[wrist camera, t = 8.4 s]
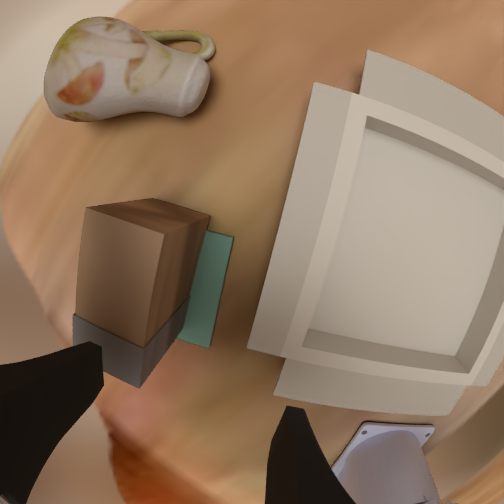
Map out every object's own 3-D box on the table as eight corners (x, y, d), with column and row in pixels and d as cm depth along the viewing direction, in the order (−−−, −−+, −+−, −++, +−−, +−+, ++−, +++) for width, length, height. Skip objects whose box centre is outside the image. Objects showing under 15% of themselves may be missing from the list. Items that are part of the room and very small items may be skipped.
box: (211, 216, 18) (165, 235, 11) (183, 328, 20) (139, 388, 13) (151, 197, 18) (82, 207, 11) (130, 307, 20) (73, 354, 13)
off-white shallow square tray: (454, 395, 19) (467, 415, 16) (242, 360, 20) (235, 385, 17) (535, 160, 14) (558, 160, 11) (319, 57, 15) (324, 36, 12)
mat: (210, 345, 20) (208, 348, 20) (112, 311, 21) (110, 313, 20) (234, 236, 18) (232, 238, 18) (122, 208, 19) (119, 209, 19)
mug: (212, 150, 18) (53, 152, 10) (139, 114, 22) (26, 113, 14) (252, 40, 14) (98, -15, 6) (165, 32, 18) (52, 12, 11)
